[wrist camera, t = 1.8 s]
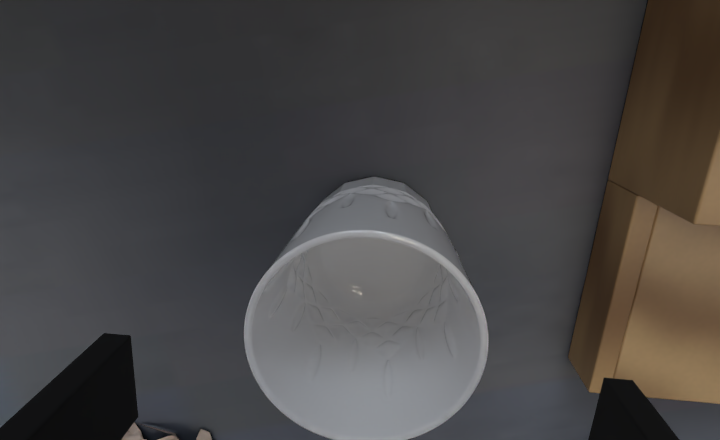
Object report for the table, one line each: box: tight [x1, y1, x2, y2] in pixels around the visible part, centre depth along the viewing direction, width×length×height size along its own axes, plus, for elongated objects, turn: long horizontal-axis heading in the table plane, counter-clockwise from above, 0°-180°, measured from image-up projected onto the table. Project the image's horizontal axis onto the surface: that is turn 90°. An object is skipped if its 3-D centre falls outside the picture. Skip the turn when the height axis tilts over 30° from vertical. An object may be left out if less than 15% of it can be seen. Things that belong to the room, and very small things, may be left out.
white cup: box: [244, 176, 489, 440], centre depth 20 cm, size 8×8×10 cm
